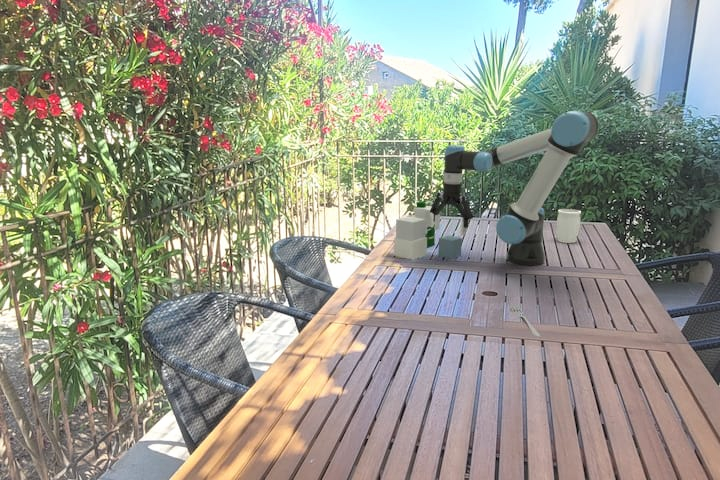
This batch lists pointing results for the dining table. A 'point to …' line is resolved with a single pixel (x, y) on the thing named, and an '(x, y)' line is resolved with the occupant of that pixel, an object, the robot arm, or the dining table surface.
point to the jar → (568, 225)
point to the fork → (525, 320)
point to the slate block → (450, 247)
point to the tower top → (410, 228)
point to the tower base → (410, 248)
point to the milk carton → (424, 213)
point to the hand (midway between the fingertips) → (449, 232)
